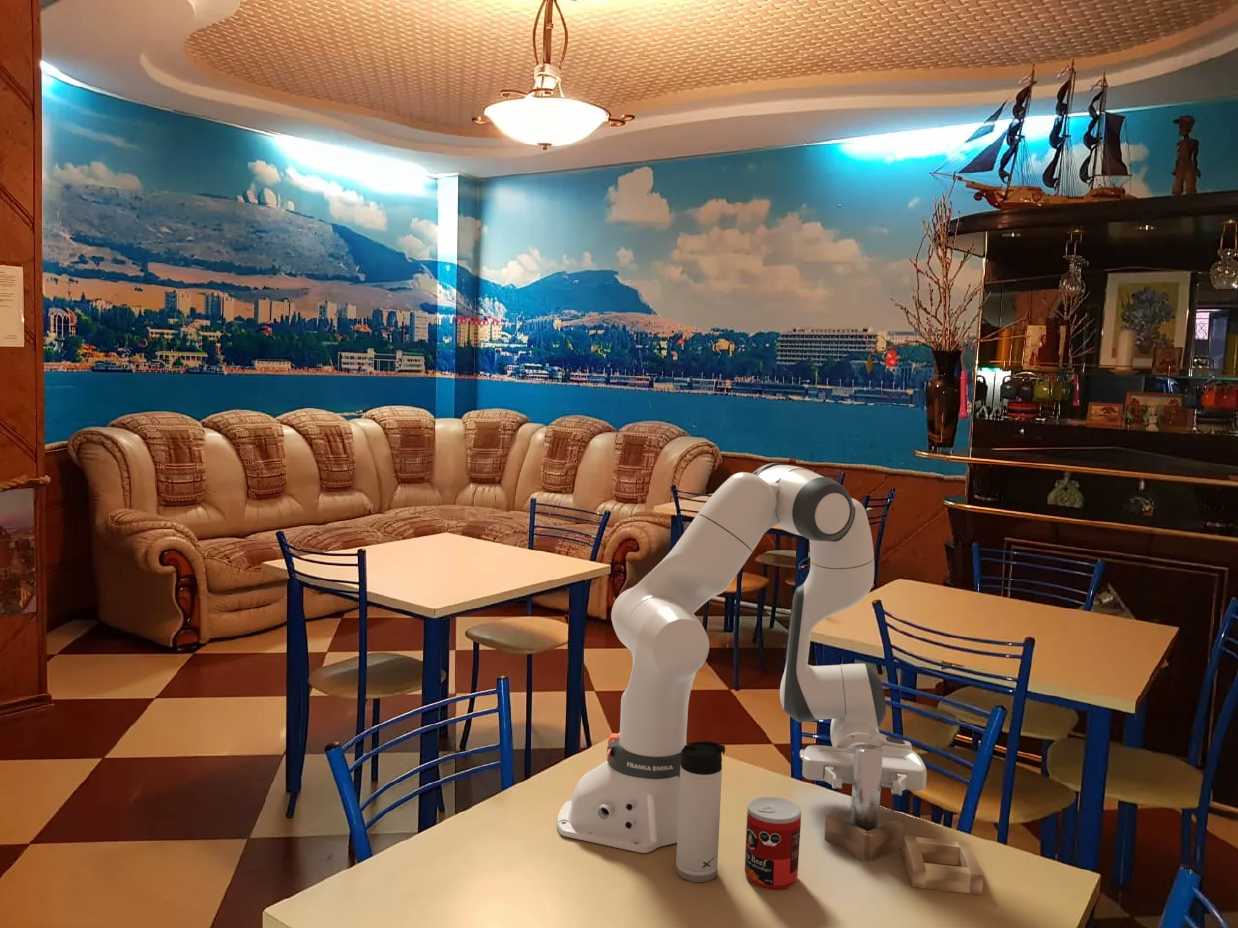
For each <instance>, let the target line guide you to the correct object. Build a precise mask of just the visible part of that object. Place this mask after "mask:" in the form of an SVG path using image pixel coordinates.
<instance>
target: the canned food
mask: <svg viewBox="0 0 1238 928" xmlns="http://www.w3.org/2000/svg"><path fill="white" fill-rule="evenodd" d="M746 810H747V814H746V827H745V828H746V830H745V832H746V834H745V851H744V852H745V854H744V856H745V857H744V873H745V877H746V879H747V880H748V881H749V882H750V883H751V884H752V885H754V886H756V887H758V888H761V889H765V890H772V891H773V890H774V891H778V890H780V891H781V890H785V889H788V888H791V887H792V886H793V885H795V884H796V881H797V879H798V875H799V874H798V873H799V861H800V860H799V857H800V856H799V855H800V843H801V842H800V840H801V826H802V825H801V824H802V811H801V807H800V806H799V805H798V804H797V803H795V802H794V801H791V800H788V799H785V798H781V797H776V796H762V797H758V798H754V799H752V800H751V801H750V802H749V803H748V804H747V809H746Z"/></svg>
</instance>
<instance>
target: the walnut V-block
mask: <svg viewBox="0 0 1238 928" xmlns="http://www.w3.org/2000/svg"><path fill="white" fill-rule="evenodd" d="M904 829H905V823H903V822H901V821H900V820H897V819H895V820H893V821H890V822H887V823H885V824H882V825H880V826H879V825H878V827H877V828H874V829H872V830H869V831H866V830H864V829H862V828H860V827H858V826H856V825H854V824H852V823H850V821H848V820H846V819H845V818H842V817H840V816H839V815H836V814H834V813H829V814H826V815H825V822H824V840H825V841H827V842H829V843H831V844H833V845H835V846H836V847H838V848H840V849H841V850H844V851H845V852H848V853H849V854H851V855H852V856H854V857H856V858H859V860H862V861H865V860H868V861H870V862H871V861H874V860H876V859H879V858H881V857H883V856H886V855H889V854H891V853H892V852H896V851H897V850H900V849H903V845H904Z"/></svg>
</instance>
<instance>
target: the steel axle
mask: <svg viewBox="0 0 1238 928" xmlns="http://www.w3.org/2000/svg"><path fill="white" fill-rule="evenodd" d="M882 757H883V750H882V749H881V748H879V747H877V746H874V745H870V744H859V745H856V746H855V752H854V769H853V784H852V790H851V791H852V792H851V804H850V805H851V807H850V821H849V822H850V823H852V824H854V825H856V826H858V827H860V828H862V829H864V830H866V831H869V830H872V829H874V828H877V827H879V820H880V804H881V803H880V802H881V791H882V790H881V788H882V787H881V773H882Z"/></svg>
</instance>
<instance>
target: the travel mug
mask: <svg viewBox="0 0 1238 928" xmlns="http://www.w3.org/2000/svg"><path fill="white" fill-rule="evenodd" d="M725 753H726V746H725V745H724V744H720V743H718V742H714V741H708V740H707V741H704V740H703V741H701V740H700V741H693V742H690V743H687V745H686V746H684V748H683V749H682V750H681V764H680V768H681V769H680V786H679V809H678V832H677V843H676V859H675V863H676V864H675V871H676V874H677V875H678V876H679V877H680V878H682V879H683V880H685V881H688V882H693V883H706V882H710V881H711V880H713V879H715V878H716V877H717V874H718V860H719V857H718V856H719V840H720V839H719V838H720V821H721V820H720V819H721V800H722V799H721V798H722V797H721V796H722V795H721V794H722V774H723V773H722V772H723V755H725Z"/></svg>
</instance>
